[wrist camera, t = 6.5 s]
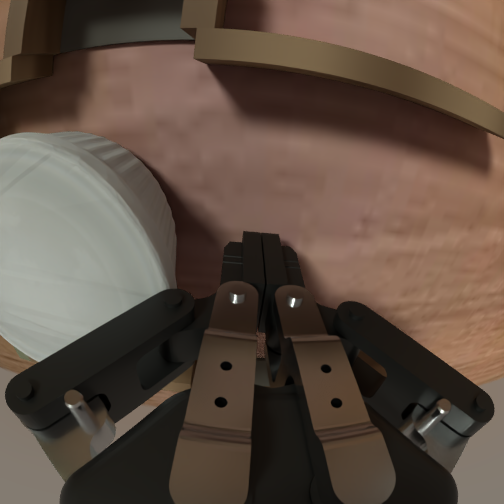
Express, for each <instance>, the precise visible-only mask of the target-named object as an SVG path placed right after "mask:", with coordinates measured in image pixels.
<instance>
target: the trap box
mask: <svg viewBox="0 0 504 504" xmlns="http://www.w3.org/2000/svg"><path fill="white" fill-rule="evenodd" d="M226 4H227V0H11V3H10V8H9V14H8V21H7V27H6V35H5V45H4V56H3V59H2V60H0V88H3V87H6V86H10V85H14V84H17V83H21V82H25V81H29V80H34V79H38V78H43V77H47V76H52V71H53V55H55V54H59V53H64V52H69V51H74V50H79V49H85V48H91V47H98V46H105V45H113V44H122V43H132V42H145V41H164V40H195V49H194V59H196V60H198V61H200V62H203V63H205V64H218V65H233V66H245V67H255V68H264V69H272V70H280V71H287V72H293V73H299V74H305V75H311V76H316V77H321V78H326V79H331V80H336V81H340V82H344V83H349V84H353V85H357V86H361V87H364V88H368V89H372V90H376V91H379V92H382V93H386V94H389V95H392V96H396V97H399V98H402V99H405V100H408V101H411V102H414V103H417V104H420V105H422V106H425V107H428V108H431V109H433V110H436V111H438V112H441V113H444V114H446V115H448V116H451V117H453V118H456V119H458V120H460V121H463V122H465V123H467V124H469V125H472V126H474V127H476V128H478V129H481V130H483V131H486V132H488V133H491V134H493V135H496V136H498V137H500V138H503V139H504V112H502V111H500V110H499V109H497V108H495V107H493V106H492V105H490V104H488V103H486V102H485V101H483V100H481V99H479V98H477V97H475V96H473V95H471V94H469V93H467V92H465V91H463V90H461V89H459V88H457V87H455V86H453V85H451V84H449V83H447V82H444V81H442V80H440V79H438V78H435V77H433V76H431V75H428V74H426V73H423V72H421V71H418V70H416V69H413V68H410V67H408V66H405V65H402V64H399V63H397V62H394V61H391V60H388V59H385V58H382V57H378V56H375V55H372V54H369V53H365V52H362V51H358V50H354V49H351V48H347V47H343V46H339V45H335V44H330V43H326V42H321V41H316V40H311V39H306V38H301V37H295V36H289V35H282V34H275V33H267V32H259V31H249V30H237V29H223V26H224V18H225V11H226ZM14 348H15V350H16V351H17V353H18V355H19V357H20V358H22V359H25V360H29V361H32V362H35V363H38V362H37V361H36V360H34V359H32V358H31V357H29V356H27V355H26V354H24V353H23V352H21V351H20V350H18V349H17V348H16V347H14ZM358 357H360V358H361V359H362V360H363V361H365V362H366V363H367V364H369V365H370V366H371V367H372V368H374V369H375V370H376V371H378V372H379V373H380V374H381V375H383V376H385V377H387V373H386V371H385V369H384V368H383V367H382V366H381V365H380V364H378V363H377V362H376V361H375V360H373V359H372V358H371V357H369V356H368V355H367V354H365V353H364V352H363V351H361V350H360V352H359V354H358ZM197 361H198V360H195V362H194V364H193V365H192V366H191V367H190V368H189V369H187V370H186V371H185V372H183V373H182V374H181V375H180V376H178V377H177V378H176V379H174V380H173V381H172V382H170V383H169V384H168V385H167V386H165V387H164V388H163V389H161V390H166V391H174V392H181V391H184V390H187V389H191V388H192V383H193V379H194V374H195V370H196V366H197ZM254 384H256V385H260V386H265V387H269V388H270V386H269V379H268V373H267V367H266V360H265V358H256V367H255V382H254Z"/></svg>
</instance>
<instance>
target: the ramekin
mask: <svg viewBox="0 0 504 504" xmlns="http://www.w3.org/2000/svg"><path fill="white" fill-rule="evenodd" d="M176 245H177V238H176V234H175V222H174V220H173V218H172V212H171V209H170V206H169V205H168V203H167V200H166V196H165V194H164V193H163V191H162V190H161V188H160V185H159V183H158V182H157V180H156V179H155V178H154V176H153V175H152V173H151V172H150V170H148V169H147V168H146V167H145V165H144V164H143V163H142V162H141V161H140V160H139V159H138V158H136V157H135V156H134V155H133V154H132V153H131V152H130V151H129V150H127V149H124V148H123V147H122V146H120V145H119V144H117V143H115V142H112V141H110V140H108V139H106V138H105V137H101V136H96V135H94V134H91V133H83V132H79V131H75V132H69V131H68V132H59V133H51V134H43V133H32V132H25V133H17V134H12V135H8V136H6V137H3V138H0V335H1V336H2V337H3V338H5V339H6V340H7V341H8V342H9V343H10V344H12V345H13V346H14V347H16V348H17V349H18V350H20V351H21V352H23V353H24V354H26V355H27V356H29V357H31V358H32V359H34V360H36V361H37V362H40V361H42V360H43V359H45V358H47V357H48V356H50V355H52V354H53V353H55V352H57V351H59V350H60V349H62V348H64V347H65V346H67V345H69V344H70V343H72V342H74V341H76V340H77V339H79V338H81V337H82V336H84V335H86V334H88V333H89V332H91V331H93V330H94V329H96V328H98V327H100V326H101V325H103V324H105V323H107V322H108V321H110V320H112V319H113V318H115V317H117V316H119V315H120V314H122V313H124V312H126V311H127V310H129V309H131V308H133V307H134V306H136V305H138V304H139V303H141V302H143V301H145V300H146V299H148V298H150V297H152V296H153V295H155V294H157V293H159V292H161V291H163V290H166V289H177V283H176V277H175V267H176Z"/></svg>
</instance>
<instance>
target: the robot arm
mask: <svg viewBox="0 0 504 504" xmlns="http://www.w3.org/2000/svg"><path fill="white" fill-rule="evenodd" d="M257 327H258V332H262V333H265V335H266V340H265V344H264V354H265V360H266V367H267V373H268V379H269V386H270V388H269V387H265V386H260V385H256V384H254V382H255V367H256V351H257V335H256V332H257ZM360 350H361V351H363V352H364V353H365V354H367V355H368V356H369V357H371V358H372V359H373V360H375V361H376V362H377V363H378V364H380V365H381V366H382V367H383V368H384V369H385V371H386V373H387V377H385V376H383V375H381V374H380V373H379V372H378V371H376V370H375V369H374V368H372V367H371V366H370V365H369V364H367V363H366V362H365V361H363V360H362V359H361V358H360V357H358V354H359V352H360ZM195 360H198V361H197V366H196V370H195V374H194V379H193V383H192V388H191V389H187V390H184V391H181V392H179V393H177V394H175V395H173V396H171V397H170V398H168V399H167V400H165V401H164V402H163V403H162V404H160V405H159V406H158V407H157V408H156V409H154V410H153V411H152V412H151V413H150V414H148V415H147V416H146V417H145V418H144V419H143V420H141V421H140V422H139V423H138V424H136V425H135V426H134V427H132V428H131V429H130V430H129V431H127V432H126V433H125V434H124V435H123V436H121V437H120V438H119V439H117V440H116V441H115V442H114V443H112V444H111V445H110V446H108V445H109V444H110V443H111V442H112V441H113V439H114V437H115V433H116V427H115V423H116V422H118V421H119V420H120V419H122V418H123V417H125V416H126V415H127V414H129V413H130V412H132V411H133V410H134V409H136V408H137V407H138V406H140V405H141V404H143V403H144V402H145V401H147V400H148V399H149V398H151V397H152V396H153V395H155V394H156V393H157V392H159V391H160V390H161V389H163V388H164V387H165V386H167V385H168V384H169V383H170V382H172V381H173V380H174V379H176V378H177V377H178V376H180V375H181V374H182V373H183V372H185V371H186V370H187V369H189V368H190V367H191V366H192V365H193V364H194V362H195ZM5 399H6V403H7V405H8V406H9V408H10V409H11V410H12V411H13V412H14V413H15V415H16V416H17V417H18V418H19V419H20V421H21V422H22V424H23V425H24V426H25V427H26V428H27V429H28V430H29V431H30V432H31V433H32V434H33V435H34V436H35V437H36V439H37V441H38V442H39V444H40V446H41V447H42V449H43V451H44V452H45V454H46V455H47V457H48V458H49V460H50V461H51V463H52V464H53V466H54V467H55V469H56V470H57V472H58V473H59V474H60V476H61V477H62V479H63V480H64V481H65V484H64V486H63V488H62V491H61V495H60V504H457V502H458V491H457V487H456V483H455V480H454V479H453V477H452V475H451V472H452V470H453V468H454V467H455V465H456V463H457V461H458V460H459V457H460V456H461V454H462V452H463V450H464V448H465V446H466V444H467V442H468V440H469V438H470V437H471V436H473V435H474V434H475V433H476V432H477V431H478V430H480V429H481V428H482V427H483V426H484V425H485V424H486V423H488V422H489V421H490V420H491V418H492V417H493V415H494V404H493V401H492V399H491V398H490V396H489V395H488V394H487V393H486V392H485V391H483V390H482V389H481V388H479V387H478V386H477V385H475V384H474V383H473V382H471V381H470V380H469V379H467V378H466V377H464V376H463V375H462V374H460V373H459V372H458V371H456V370H455V369H454V368H452V367H451V366H449V365H448V364H447V363H445V362H444V361H443V360H441V359H440V358H438V357H437V356H436V355H434V354H433V353H431V352H430V351H429V350H427V349H426V348H425V347H423V346H422V345H420V344H419V343H418V342H416V341H415V340H413V339H412V338H411V337H409V336H408V335H406V334H405V333H404V332H402V331H401V330H399V329H398V328H396V327H395V326H394V325H392V324H391V323H389V322H388V321H387V320H385V319H384V318H382V317H381V316H379V315H378V314H377V313H375V312H374V311H372V310H371V309H370V308H368V307H367V306H365V305H363V304H361V303H358V302H353V301H348V302H343V303H341V304H340V305H339V306H338V309H337V310H336V309H332V308H328V307H325V306H322V305H320V304H318V303H316V301H315V299H314V296H313V295H312V293H311V292H310V291H308V290H307V289H305V285H304V281H303V277H302V273H301V269H300V266H299V263H298V258H297V254H296V253H295V252H294V250H293V249H292V248H291V247H288V246H281V243H280V238H279V234H271V233H259V232H248V231H243V238H242V243H241V242H229V243H228V244H227V245H226V246H225V247H224V256H223V264H222V274H221V283H220V287H219V288H218V290H217V292H216V293H215V294H213V295H211V296H209V297H206V298H202V299H195V300H194V298H193V297H192V295H191V294H189V293H188V292H186V291H184V290H181V289H166V290H163V291H161V292H159V293H157V294H155V295H153V296H152V297H150V298H148V299H146V300H145V301H143V302H141V303H139V304H138V305H136V306H134V307H133V308H131V309H129V310H127V311H126V312H124V313H122V314H120V315H119V316H117V317H115V318H113V319H112V320H110V321H108V322H107V323H105V324H103V325H101V326H100V327H98V328H96V329H94V330H93V331H91V332H89V333H88V334H86V335H84V336H82V337H81V338H79V339H77V340H76V341H74V342H72V343H70V344H69V345H67V346H65V347H64V348H62V349H60V350H59V351H57V352H55V353H53V354H52V355H50V356H48V357H47V358H45V359H43V360H42V361H40V362H38V363H36V364H35V365H33V366H31V367H30V368H28V369H26V370H25V371H23V372H21V373H20V374H18V375H16V376H15V377H14V378H13V379H11V381H10V382H9V384H8V385H7V388H6V391H5ZM107 446H108V447H107ZM106 447H107V448H106Z"/></svg>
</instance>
